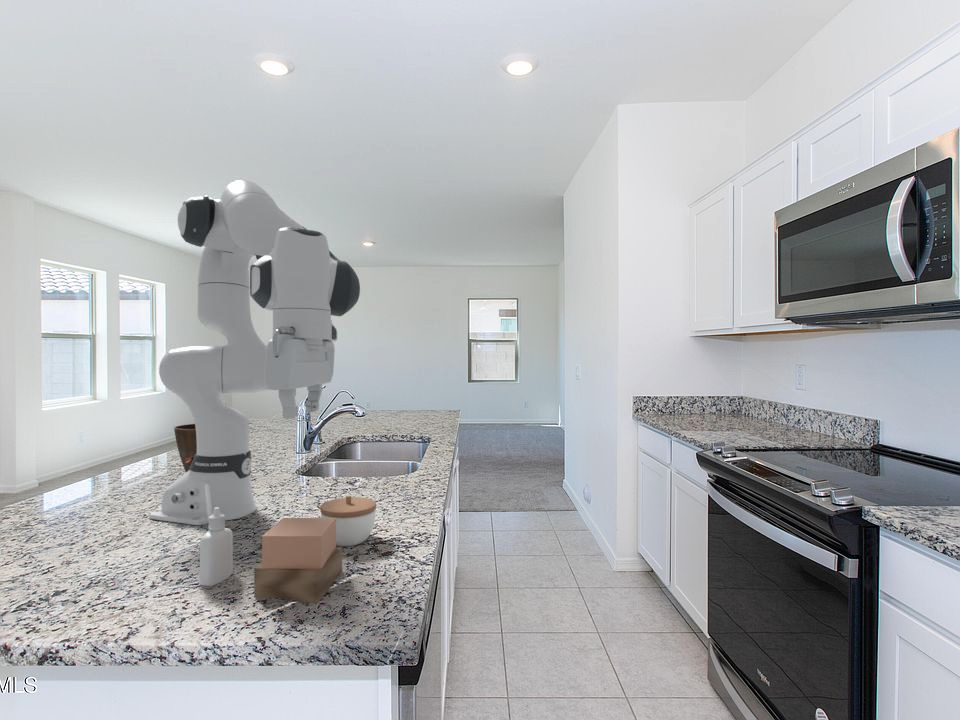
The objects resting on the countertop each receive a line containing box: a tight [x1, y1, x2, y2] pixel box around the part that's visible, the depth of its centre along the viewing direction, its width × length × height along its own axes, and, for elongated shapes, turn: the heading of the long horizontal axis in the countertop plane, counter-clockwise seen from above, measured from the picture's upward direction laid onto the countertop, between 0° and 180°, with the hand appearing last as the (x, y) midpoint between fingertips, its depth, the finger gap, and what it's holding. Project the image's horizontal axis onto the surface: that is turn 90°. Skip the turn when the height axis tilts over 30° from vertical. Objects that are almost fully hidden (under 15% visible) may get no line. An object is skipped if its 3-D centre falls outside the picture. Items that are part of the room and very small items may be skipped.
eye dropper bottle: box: [199, 507, 234, 587], centre depth 88 cm, size 4×6×12 cm
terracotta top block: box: [261, 517, 337, 569], centre depth 86 cm, size 9×9×5 cm
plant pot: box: [173, 423, 197, 473], centre depth 158 cm, size 15×15×16 cm
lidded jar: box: [320, 495, 377, 547], centre depth 105 cm, size 11×11×9 cm
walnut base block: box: [253, 547, 343, 604], centre depth 86 cm, size 10×10×5 cm
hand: (302, 414), depth 85 cm, fingers open, 8 cm apart
